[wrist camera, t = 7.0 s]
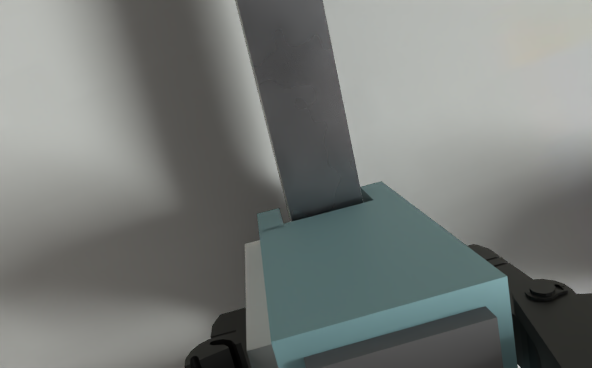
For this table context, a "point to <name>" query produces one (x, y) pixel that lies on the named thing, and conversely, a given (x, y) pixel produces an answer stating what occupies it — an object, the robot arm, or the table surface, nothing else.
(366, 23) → the table surface
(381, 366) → the carriage
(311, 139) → the handrail
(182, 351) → the table surface
